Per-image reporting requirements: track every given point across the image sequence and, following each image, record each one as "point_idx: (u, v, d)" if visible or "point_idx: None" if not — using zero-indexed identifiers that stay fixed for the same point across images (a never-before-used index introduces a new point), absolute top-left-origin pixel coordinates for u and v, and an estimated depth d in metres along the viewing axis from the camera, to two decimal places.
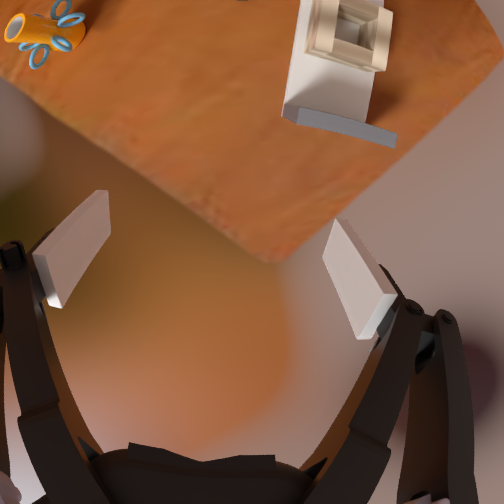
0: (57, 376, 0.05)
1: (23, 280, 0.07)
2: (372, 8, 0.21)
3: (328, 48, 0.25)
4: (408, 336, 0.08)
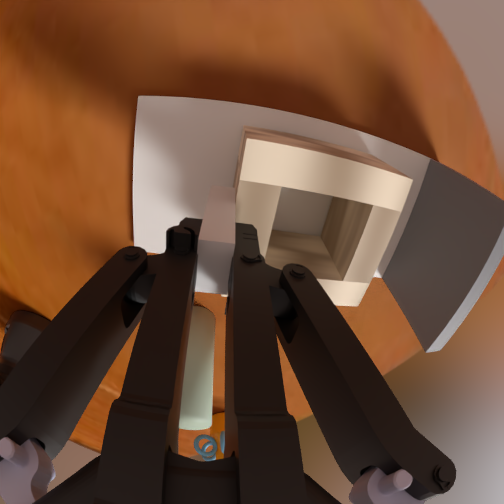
0: (179, 377, 0.07)
1: (185, 270, 0.09)
2: (255, 198, 0.14)
3: (362, 288, 0.18)
4: (254, 289, 0.09)
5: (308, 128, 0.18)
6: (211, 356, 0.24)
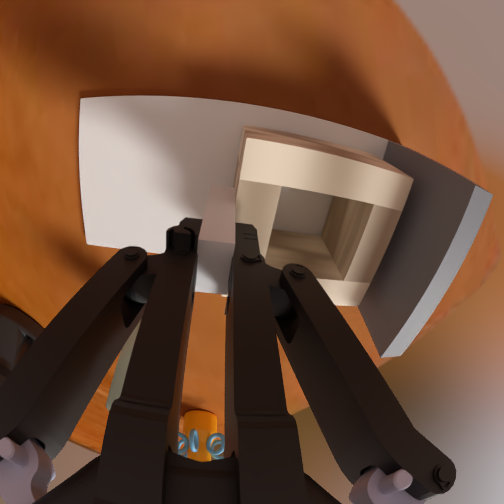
0: (179, 377, 0.07)
1: (185, 270, 0.09)
2: (255, 197, 0.14)
3: (362, 288, 0.18)
4: (255, 289, 0.09)
5: (239, 114, 0.17)
6: None
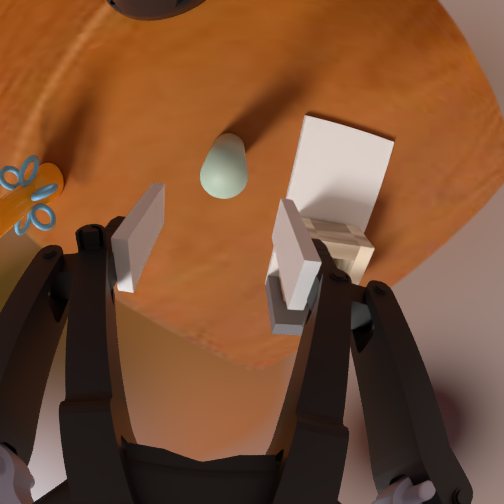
0: (114, 369, 0.06)
1: (99, 266, 0.08)
2: (352, 251, 0.33)
3: None
4: (338, 306, 0.09)
5: (363, 220, 0.38)
6: None
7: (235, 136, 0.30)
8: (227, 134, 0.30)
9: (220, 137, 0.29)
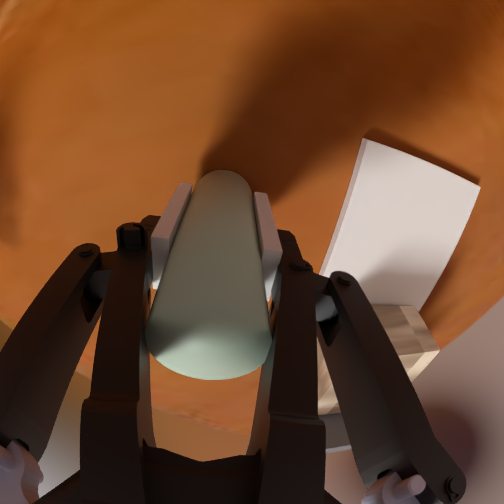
0: (144, 371, 0.06)
1: (138, 265, 0.09)
2: (412, 360, 0.19)
3: (323, 413, 0.23)
4: (300, 296, 0.09)
5: (422, 296, 0.24)
6: None
7: (235, 179, 0.16)
8: (219, 175, 0.16)
9: (205, 184, 0.15)
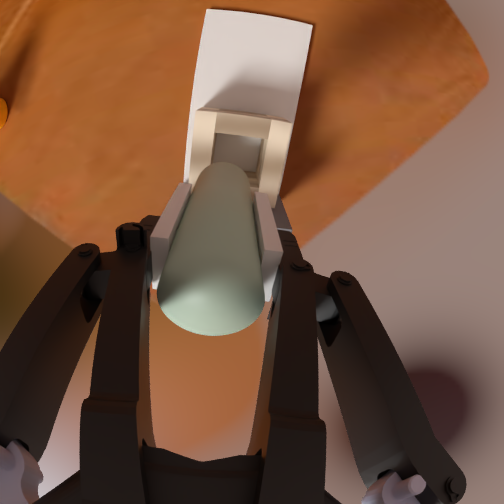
0: (143, 371, 0.06)
1: (137, 265, 0.09)
2: (261, 126, 0.26)
3: None
4: (301, 296, 0.09)
5: (289, 110, 0.31)
6: None
7: (234, 170, 0.18)
8: (220, 166, 0.18)
9: (207, 173, 0.17)
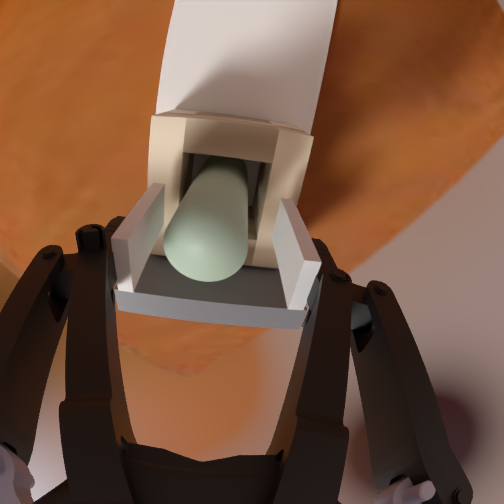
0: (114, 369, 0.06)
1: (99, 266, 0.08)
2: (262, 142, 0.16)
3: None
4: (338, 306, 0.09)
5: (304, 114, 0.20)
6: None
7: (233, 158, 0.21)
8: None
9: (210, 160, 0.20)
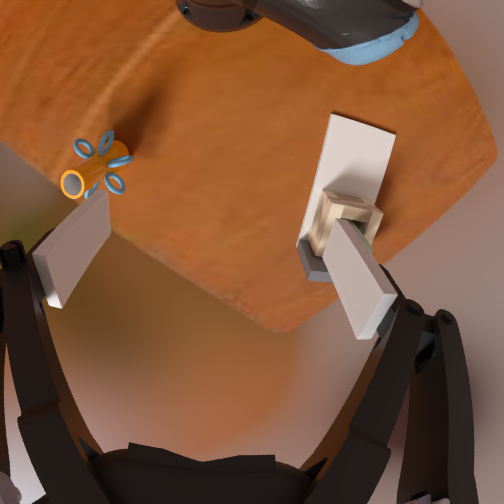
0: (57, 376, 0.05)
1: (23, 280, 0.07)
2: (367, 215, 0.43)
3: None
4: (408, 336, 0.08)
5: (373, 194, 0.47)
6: None
7: None
8: None
9: None
